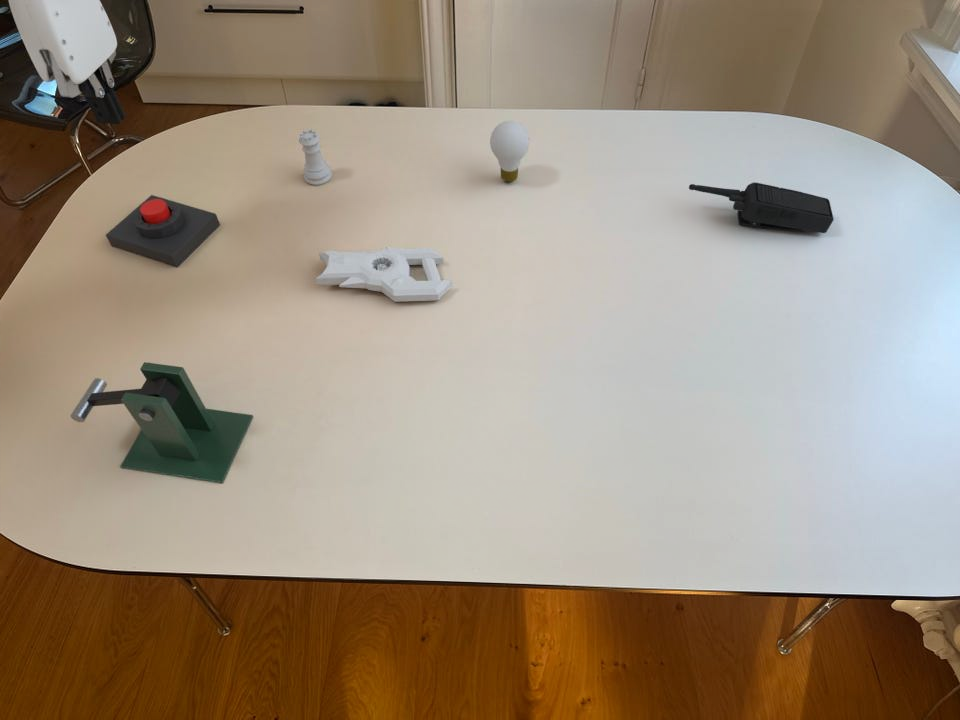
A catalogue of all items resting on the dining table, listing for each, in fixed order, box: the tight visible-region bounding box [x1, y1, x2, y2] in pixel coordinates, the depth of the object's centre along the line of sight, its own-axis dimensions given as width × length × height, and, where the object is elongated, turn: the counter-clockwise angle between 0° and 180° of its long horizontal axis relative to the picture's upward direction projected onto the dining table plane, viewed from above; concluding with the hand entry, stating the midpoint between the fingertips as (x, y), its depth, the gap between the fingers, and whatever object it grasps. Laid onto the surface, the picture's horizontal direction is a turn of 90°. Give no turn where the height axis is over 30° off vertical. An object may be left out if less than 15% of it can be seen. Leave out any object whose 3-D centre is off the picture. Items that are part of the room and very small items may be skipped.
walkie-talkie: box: [688, 182, 835, 234], centre depth 101 cm, size 6×6×20 cm
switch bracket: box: [120, 361, 254, 484], centre depth 76 cm, size 12×9×12 cm
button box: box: [105, 194, 221, 268], centre depth 103 cm, size 12×10×4 cm
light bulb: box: [489, 120, 530, 183], centre depth 107 cm, size 6×6×10 cm
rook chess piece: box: [298, 128, 333, 186], centre depth 109 cm, size 4×4×8 cm
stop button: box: [140, 199, 170, 224], centre depth 101 cm, size 4×4×2 cm
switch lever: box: [69, 377, 181, 423], centre depth 75 cm, size 12×5×2 cm, turn 80°
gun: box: [315, 246, 453, 303], centre depth 96 cm, size 18×3×10 cm
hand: (112, 120), depth 89 cm, fingers closed
